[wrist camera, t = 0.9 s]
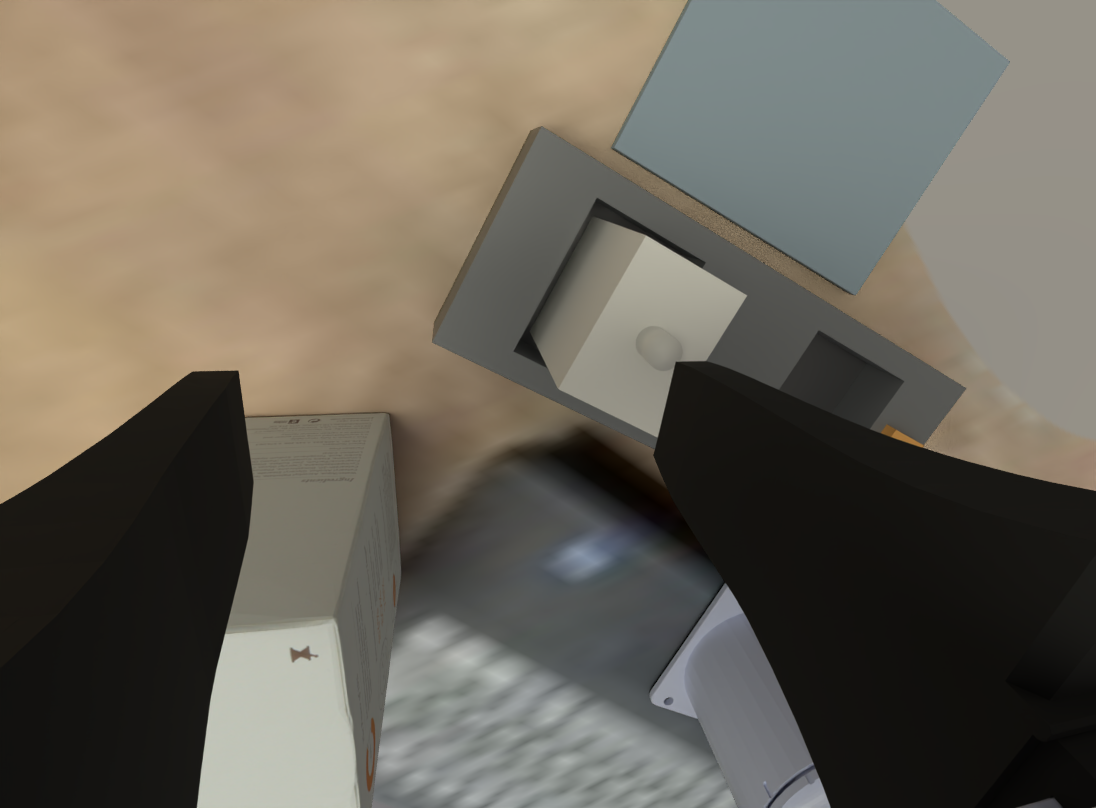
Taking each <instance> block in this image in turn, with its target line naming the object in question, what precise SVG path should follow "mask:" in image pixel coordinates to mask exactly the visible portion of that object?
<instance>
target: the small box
mask: <svg viewBox="0 0 1096 808" xmlns="http://www.w3.org/2000/svg"><path fill="white" fill-rule="evenodd" d="M245 422H246V429H247V437H248V444H249V451H250V458H251V465H252V473H253V480H254V485H253V497H252V508H251V518H250V528H249V537H248V542H247V546H246V550H245V555H244V559H243V563H242V567H241V571H240V576H239V580H238V584H237V588H236V592H235V596H234V600H233V604H232V608H231V612H230V616H229V620H228V624H227V628H226V633H225V637H224V641H223V645H222V649H221V653H220V657H219V661H218V665H217V669H216V675H215V680H214V685H213V690H212V695H211V700H210V708H209V716H208V723H207V731H206V738H205V746H204V754H203V761H202V769H201V778H200V786H199V795H198V803H197V808H371V807H372V799H373V792H374V783H375V775H376V767H377V759H378V752H379V744H380V736H381V728H382V721H383V713H384V705H385V697H386V690H387V683H388V675H389V666H390V657H391V649H392V641H393V633H394V625H395V618H396V610H397V603H398V595H399V588H400V581H401V556H400V541H399V526H398V512H397V499H396V486H395V472H394V459H393V447H392V435H391V427H390V417H389V414H387V413H372V414H371V413H366V414H339V415H311V416H282V417H255V418H245Z"/></svg>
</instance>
